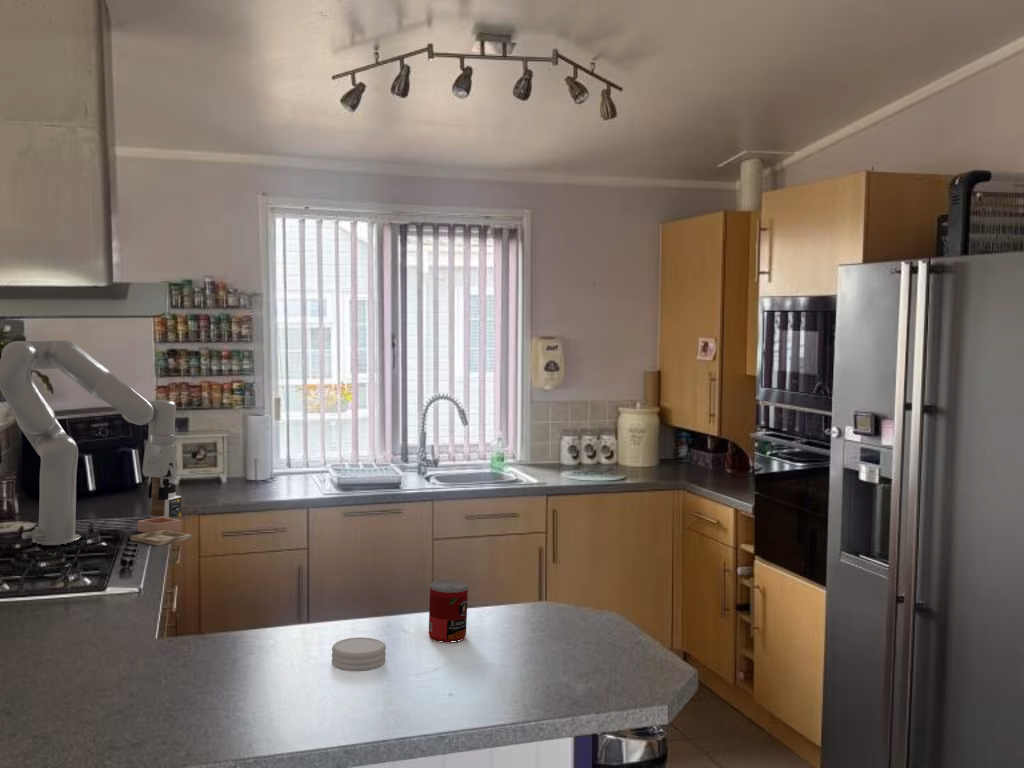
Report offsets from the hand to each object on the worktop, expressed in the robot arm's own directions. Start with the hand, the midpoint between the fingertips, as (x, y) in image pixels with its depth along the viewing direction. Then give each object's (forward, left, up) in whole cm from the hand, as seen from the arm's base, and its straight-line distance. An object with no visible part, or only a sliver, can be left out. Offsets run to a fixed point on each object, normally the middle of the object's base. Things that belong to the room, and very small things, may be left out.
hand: (158, 498), depth 273 cm
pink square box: (+1, 0, -11) cm, 11 cm away
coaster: (-52, -125, -11) cm, 136 cm away
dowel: (0, 0, -5) cm, 5 cm away
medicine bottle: (+19, +20, -11) cm, 29 cm away
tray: (-7, -11, -11) cm, 17 cm away
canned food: (-30, -130, -11) cm, 134 cm away
